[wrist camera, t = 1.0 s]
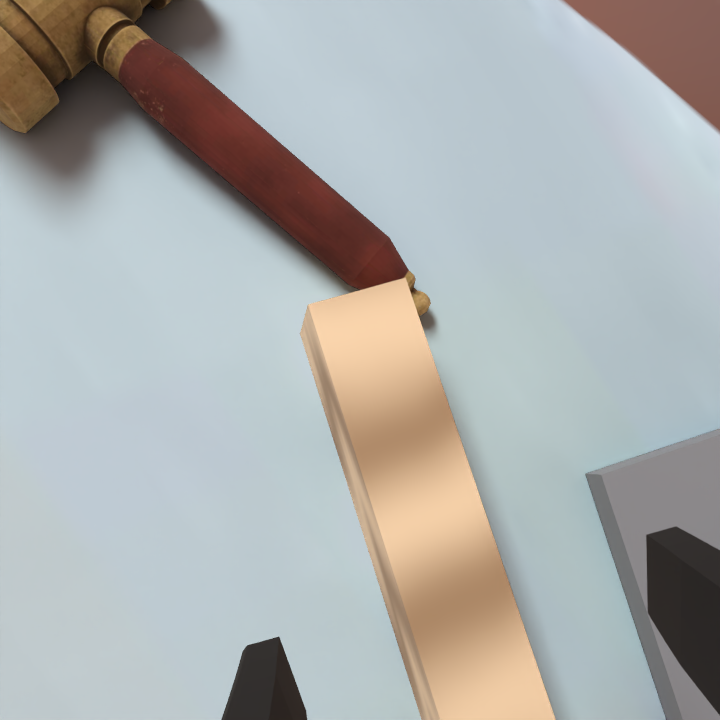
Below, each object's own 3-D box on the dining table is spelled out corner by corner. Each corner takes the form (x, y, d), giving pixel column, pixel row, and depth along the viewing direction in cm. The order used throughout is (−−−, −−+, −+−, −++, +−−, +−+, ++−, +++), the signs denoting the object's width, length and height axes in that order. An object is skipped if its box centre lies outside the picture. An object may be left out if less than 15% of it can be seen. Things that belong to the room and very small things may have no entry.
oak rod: (555, 845, 22) (634, 953, 18) (473, 887, 22) (533, 1011, 17) (378, 312, 25) (405, 277, 20) (299, 334, 24) (308, 304, 19)
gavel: (519, 206, 23) (365, 401, 21) (473, 243, 28) (343, 406, 25) (96, -173, 21) (-121, -3, 19) (120, -68, 26) (-53, 78, 24)
